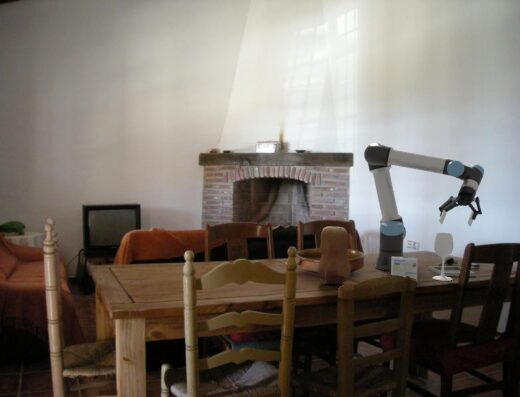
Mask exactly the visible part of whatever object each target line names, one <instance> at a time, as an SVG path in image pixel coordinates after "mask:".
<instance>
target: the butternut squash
mask: <svg viewBox="0 0 520 397" xmlns="http://www.w3.org/2000/svg"><path fill="white" fill-rule="evenodd" d="M348 235H349V234H348V231H347V229H346V228H345V227H341V226H326V227H323V228H322V231H321V233H320V245H319V246H320V247H319V248H320V253H321V257H320V258H319V262H318V268H317V271H318V272H317V276H318V277H319V278H320V279H321V280H322V281H323V282H324V283H327V284H330V283H331V284H330V285H332V284H337V285H336V286H340V285H339V284H341V285H342V284H343V283H346V282H347V281H348V280H349V278H350V277H351V266H350V265H351V264H350V263H349V260H348V252H349V236H348Z"/></svg>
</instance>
